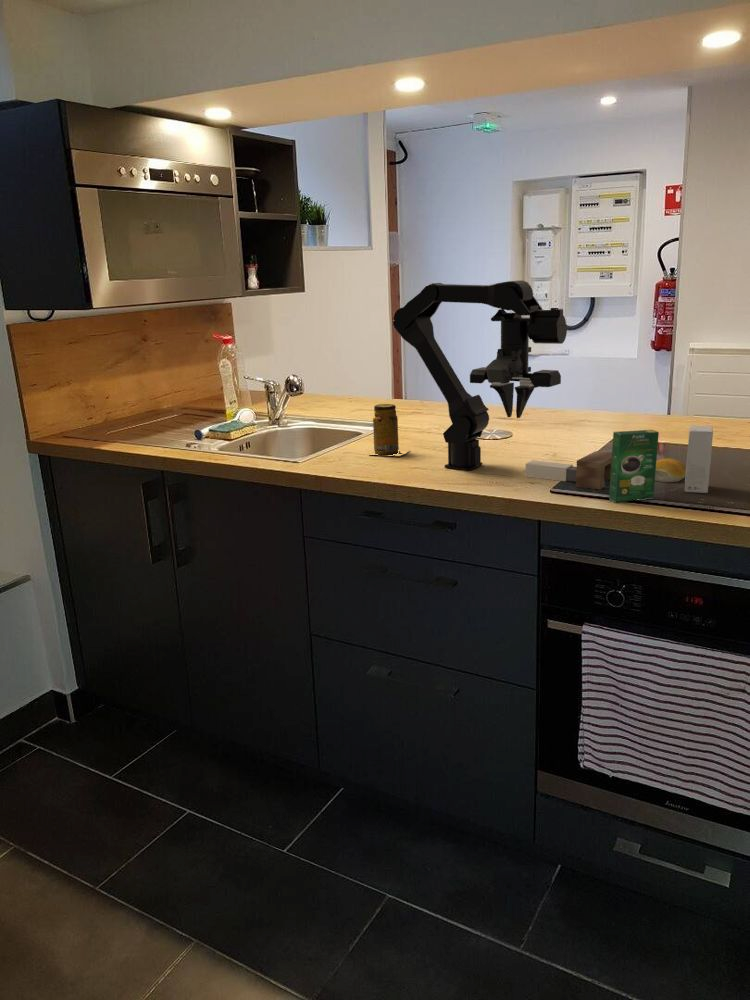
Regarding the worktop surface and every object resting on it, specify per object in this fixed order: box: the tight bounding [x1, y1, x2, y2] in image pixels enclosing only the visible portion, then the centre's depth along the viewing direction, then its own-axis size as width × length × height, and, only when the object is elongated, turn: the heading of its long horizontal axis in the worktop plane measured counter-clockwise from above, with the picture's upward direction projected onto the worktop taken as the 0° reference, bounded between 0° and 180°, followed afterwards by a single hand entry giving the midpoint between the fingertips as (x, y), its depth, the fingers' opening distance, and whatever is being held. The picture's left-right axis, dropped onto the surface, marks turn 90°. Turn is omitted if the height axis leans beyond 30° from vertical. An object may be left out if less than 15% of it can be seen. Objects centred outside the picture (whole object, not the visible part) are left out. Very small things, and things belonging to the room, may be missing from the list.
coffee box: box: [608, 429, 660, 503], centre depth 146 cm, size 8×3×13 cm, turn 101°
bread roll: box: [655, 458, 686, 483], centre depth 162 cm, size 8×9×4 cm
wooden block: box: [575, 450, 612, 490], centre depth 159 cm, size 5×10×5 cm, turn 143°
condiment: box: [372, 403, 401, 458], centre depth 191 cm, size 7×8×12 cm
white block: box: [525, 459, 577, 483], centre depth 165 cm, size 11×4×3 cm, turn 54°
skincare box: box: [684, 424, 714, 494], centre depth 151 cm, size 6×4×12 cm
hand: (513, 417), depth 167 cm, fingers closed
